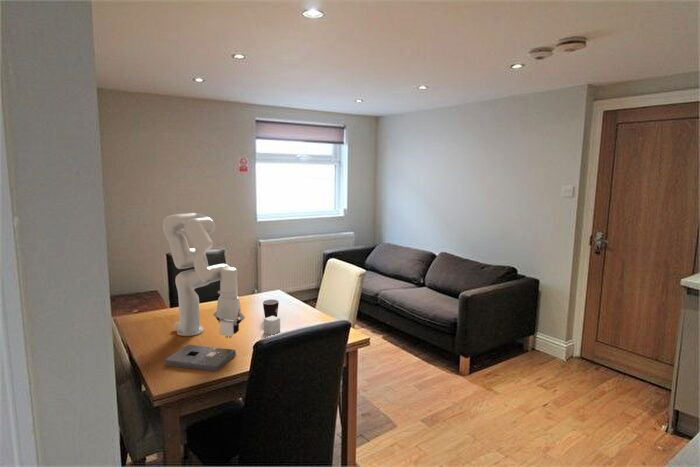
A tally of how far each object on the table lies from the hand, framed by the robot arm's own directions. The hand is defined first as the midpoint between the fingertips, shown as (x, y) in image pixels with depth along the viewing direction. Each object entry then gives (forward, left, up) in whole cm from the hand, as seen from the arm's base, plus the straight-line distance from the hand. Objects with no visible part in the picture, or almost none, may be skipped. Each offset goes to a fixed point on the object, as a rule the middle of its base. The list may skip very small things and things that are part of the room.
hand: (229, 331), depth 195 cm
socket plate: (-5, -15, -8) cm, 18 cm away
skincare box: (+12, +22, -8) cm, 26 cm away
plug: (0, 0, -3) cm, 3 cm away
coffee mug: (+5, +40, -8) cm, 41 cm away
